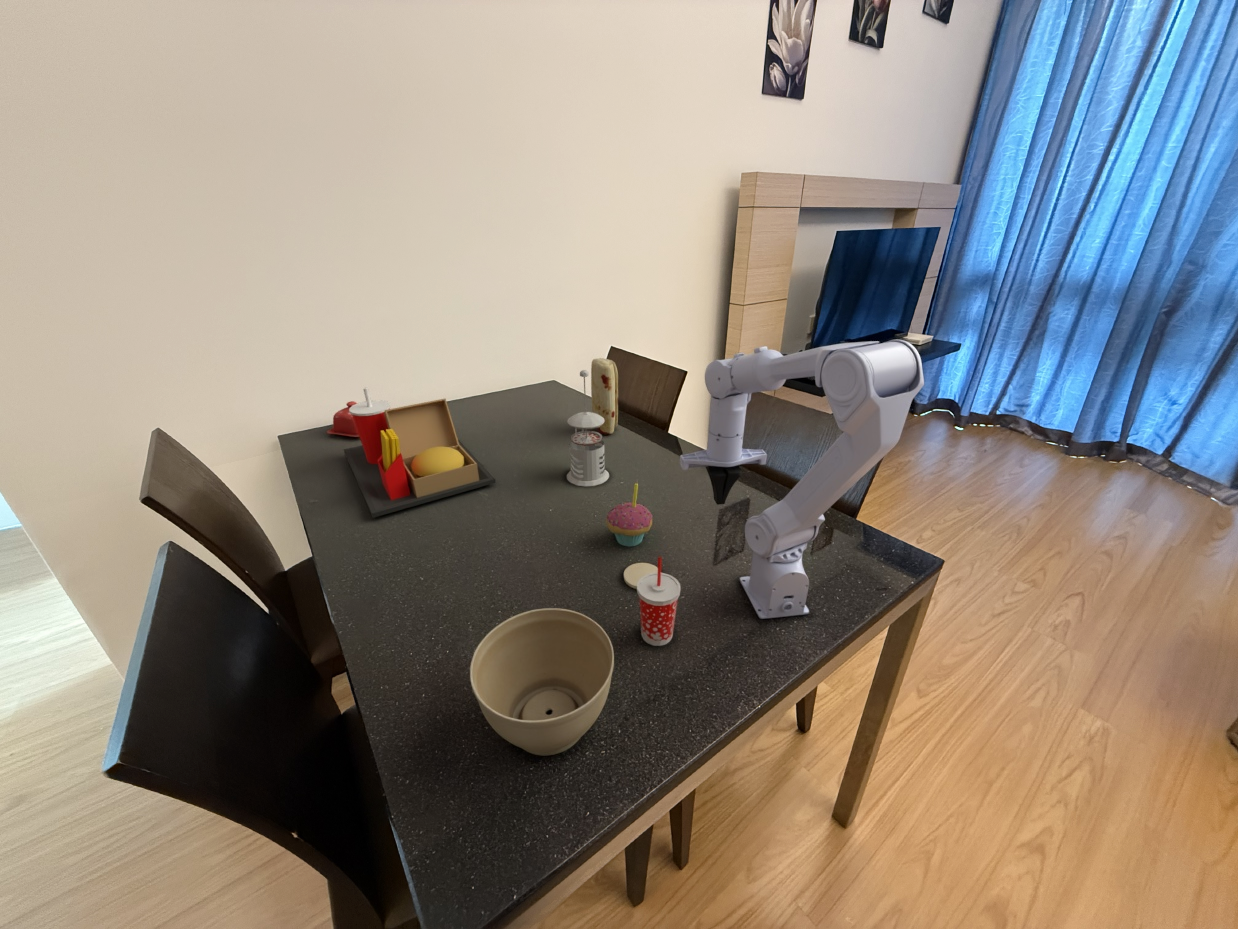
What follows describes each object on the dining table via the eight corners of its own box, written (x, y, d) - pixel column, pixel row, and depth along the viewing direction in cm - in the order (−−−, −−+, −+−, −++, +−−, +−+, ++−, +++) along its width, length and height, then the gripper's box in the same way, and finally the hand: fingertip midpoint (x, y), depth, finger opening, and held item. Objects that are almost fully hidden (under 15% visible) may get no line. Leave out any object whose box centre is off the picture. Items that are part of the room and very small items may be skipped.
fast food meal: (374, 522, 104) (351, 436, 96) (345, 456, 130) (326, 385, 122) (496, 486, 117) (486, 408, 108) (447, 433, 143) (436, 367, 134)
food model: (587, 426, 146) (584, 355, 137) (609, 422, 149) (608, 352, 140) (600, 439, 138) (598, 365, 129) (623, 435, 141) (623, 362, 132)
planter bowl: (464, 703, 67) (451, 640, 62) (576, 651, 75) (573, 591, 70) (511, 816, 55) (500, 749, 50) (639, 740, 62) (641, 675, 57)
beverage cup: (663, 656, 74) (666, 577, 67) (627, 637, 77) (628, 560, 71) (685, 631, 78) (691, 554, 72) (651, 613, 81) (653, 538, 75)
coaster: (665, 587, 86) (665, 585, 86) (626, 591, 86) (626, 588, 85) (657, 563, 92) (657, 561, 92) (621, 567, 91) (621, 564, 91)
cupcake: (626, 521, 104) (626, 468, 98) (661, 537, 99) (663, 481, 94) (597, 541, 98) (595, 485, 92) (633, 559, 93) (634, 501, 88)
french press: (572, 489, 115) (566, 379, 104) (560, 466, 125) (554, 363, 114) (614, 482, 118) (613, 374, 107) (600, 460, 128) (597, 359, 116)
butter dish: (356, 421, 151) (349, 392, 147) (389, 425, 148) (383, 397, 144) (325, 436, 141) (316, 407, 137) (360, 442, 138) (352, 411, 134)
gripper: (759, 418, 91) (750, 487, 97) (677, 423, 89) (673, 493, 95) (775, 435, 85) (765, 507, 91) (687, 441, 83) (683, 514, 89)
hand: (719, 501), depth 93 cm, fingers closed
